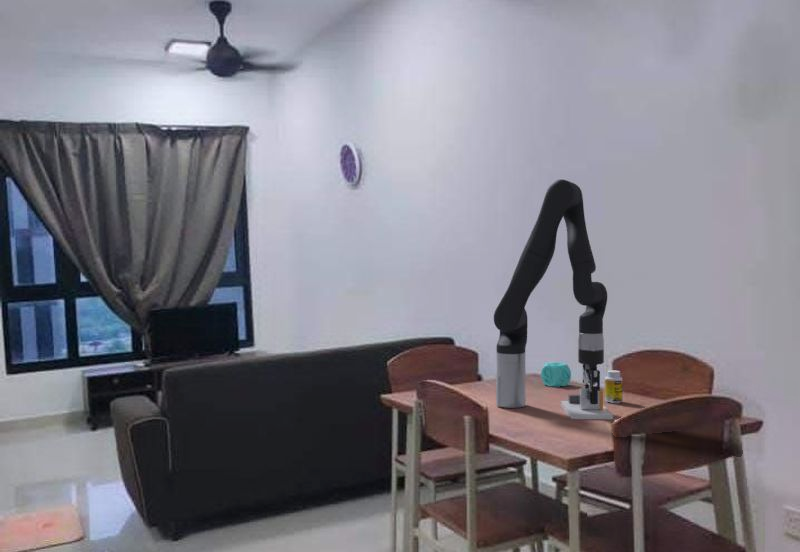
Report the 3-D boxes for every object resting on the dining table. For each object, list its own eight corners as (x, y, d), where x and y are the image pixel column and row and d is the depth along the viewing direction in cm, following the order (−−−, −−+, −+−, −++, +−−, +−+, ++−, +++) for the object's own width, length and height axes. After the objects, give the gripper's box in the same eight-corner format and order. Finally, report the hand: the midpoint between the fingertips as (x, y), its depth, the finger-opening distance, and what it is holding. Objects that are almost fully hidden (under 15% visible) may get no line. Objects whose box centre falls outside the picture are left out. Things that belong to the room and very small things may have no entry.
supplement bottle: (614, 404, 241) (614, 373, 241) (601, 401, 246) (601, 370, 245) (626, 402, 244) (626, 371, 244) (612, 399, 249) (612, 369, 248)
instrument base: (571, 419, 220) (571, 403, 220) (561, 405, 240) (561, 391, 240) (613, 419, 219) (613, 403, 219) (598, 405, 239) (598, 391, 239)
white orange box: (581, 409, 225) (581, 389, 225) (579, 408, 228) (579, 388, 228) (603, 409, 225) (603, 389, 225) (601, 408, 228) (601, 388, 228)
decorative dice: (571, 385, 277) (571, 363, 277) (558, 388, 272) (557, 366, 272) (554, 382, 283) (554, 361, 283) (540, 385, 278) (540, 363, 278)
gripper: (574, 344, 233) (574, 396, 234) (582, 350, 219) (583, 406, 220) (598, 344, 233) (598, 396, 233) (608, 350, 219) (608, 406, 219)
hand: (591, 401), depth 227 cm, fingers open, 7 cm apart
